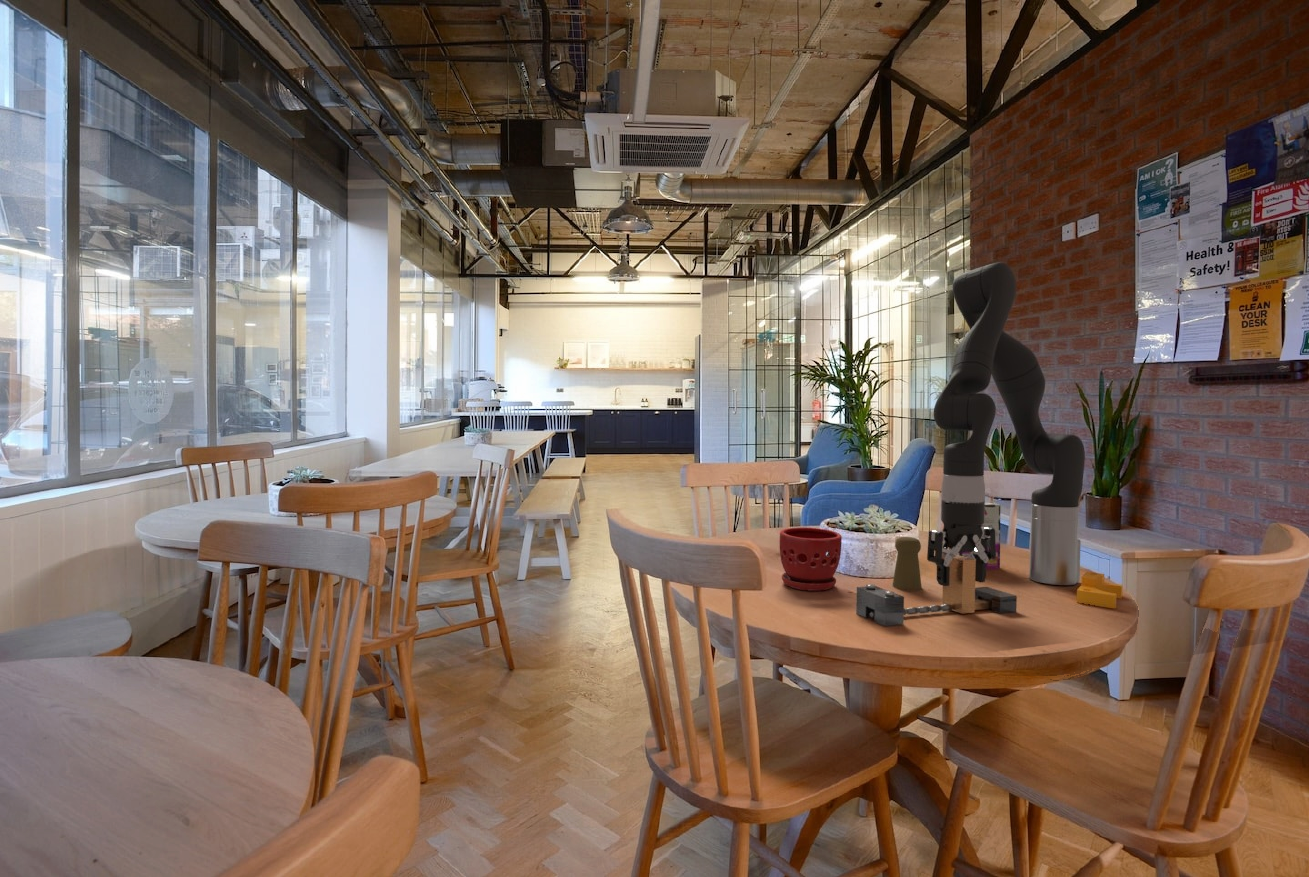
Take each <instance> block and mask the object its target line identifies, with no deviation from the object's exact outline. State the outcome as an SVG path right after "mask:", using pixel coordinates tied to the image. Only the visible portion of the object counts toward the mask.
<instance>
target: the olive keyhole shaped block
mask: <svg viewBox="0 0 1309 877" xmlns="http://www.w3.org/2000/svg"><path fill="white" fill-rule="evenodd" d="M894 547H895V549H896V552H897V555H896V561H895V568H894V574H893V579H892V587H893V588H895V589H897V590H901V591H909V592H917V591H921V590H922V589H923V588H922V587H923V586H922V580H921V579H922V578H921V570H920V562H919V553H920V551H921V548H922V545H921V541H920V540H919V539H918V538H916V537H911V536H901V537H898V538H897V539H896V540H895V544H894Z"/></svg>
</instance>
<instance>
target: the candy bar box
mask: <svg viewBox="0 0 1309 877" xmlns="http://www.w3.org/2000/svg"><path fill="white" fill-rule="evenodd" d="M983 526H984V527H989V528H994V529H995V543H996V557H995V559H990V560H988V562H987V563H986V570H993V569H997V570H998V569H1000V568H1001V504H999V503H998V504H997V503H995V502H994V503H993V502H985V513H984V524H982V525H981V527H983ZM979 541H980V542H981V538H980V540H979ZM948 550H950V549H949V548H948ZM988 552H989V547H988ZM957 555H960V556H964V557H968V558H971V559H974V558H973V556H972V555H971V553H969V552H963V553H958V554H957Z"/></svg>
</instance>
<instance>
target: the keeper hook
mask: <svg viewBox="0 0 1309 877" xmlns="http://www.w3.org/2000/svg"><path fill="white" fill-rule="evenodd" d="M987 598H988V599H991V600H992V608H991V611H992V612H994V613H997V614H1009V613H1010V614H1011V613H1016V612H1017V602H1018V601H1017V600H1018V595H1015V594H1013V593H1009V592H1006V591H1002V590H1000V589H995V588H992V587H988V586H980V587H975V600H977V599H987Z"/></svg>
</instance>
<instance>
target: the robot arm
mask: <svg viewBox="0 0 1309 877" xmlns="http://www.w3.org/2000/svg"><path fill="white" fill-rule="evenodd" d="M1013 271H1014V270H1012V268H1011V267H1010V266H1009V265H1008V264H1007V263H1005V262H998V261H997V262H993V263H990V264H987V265H984V266H980V267H976V268H974V269H971V270H969V271H966V272H963V273H960V274H958V275H956V276H955V278H954V279H953V282H952V294H953V297H954V300H955V303H956V305H957V307H958V310H959V311H960V313H961V315H962V317H963V318H964V320H965V322H966V324H967V326H968V327H969V328H968V329H970V330H969V331H968V332H967V333H966V335H965V336H964V337H963V338H962V340H961V341H960V343H959V345H958V347H957V349H956V352H955V354H954V355H955V356H954V360H953V365H952V369H951V374H950V377H949V378H948V380H947V382H946V383H945V386H944V388H943V389H942V390H941V393H940V394H939V395H938V397H937V400H936V402H935V404H934V408H933V420H934V422H935V424H936V425H937V427H938V428H939V429H941V430H944V431H961V432H962V431H965V432H966V431H968V432H971V431H972V433H971V436H970V437H969V438H968V439H967V440H965V441H960V442H955V443H954V442H953V443H949V444H947V445H946V446H945V447H944V449H943V461H942V462H943V463H942V464H943V466H942V467H943V472H942V473H943V474H942V475H943V476H942V482H941V499H940V500H941V501H940V504H941V508H940V511H941V513H940V519H941V520H940V521H941V522H942V524H943V528H942V531H941V530H935V529H930V530H929V531H928V538H927V539H928V540H927V555H926V560H927V561H928V562H931V563H933V564H935V565H936V582H937V583H938V585H940V586H942V587H943V586H949V576H950V567H949V566H948V565H949V564H950V562H951V560H952V559H953V558H954V557H956V556H957V554H958V553H963V552H969V553H971V555H972V556H973V558H974V559H975V560H976V570H975V582H977V583H984V582H986V579H987V569H986V563H987V562H988V560H990V559H995V557H996V543H995V529H994V528H989V527H984V526H983V527H981V525H982V524H984V513H985V503H986V502H985V501H986V497H985V496H986V486H985V476H984V475H985V451H986V446H987V442H988V438H989V436H990V432H991V428H992V426H993V423H994V420H995V418H996V413H997V410H996V408H997V406H996V403H995V401H994V399H993V398H992V397H991V395H989V394H987V393H982V392H983V391H985V390H986V389H987V388H988V387H989V385H990V382H991V378H992V379H993V381H994V384H995V386H996V388H997V390H998V392H999V394H1000V396H1001V398H1002V400H1003V403H1004V405H1005V408H1006V410H1007V413H1008V415H1009V417H1010V419H1011V420H1010V421H1011V422H1012V425H1013V428H1014V431H1015V434H1016V437H1017V442H1018V444H1019V448H1020V451H1021V454H1022V457H1023V459H1024V462H1025V463H1026V466H1027V467H1028V468H1029V469H1030V470H1031V471H1032V472H1035V473H1036V474H1041V475H1042V474H1043V475H1052V480H1051V483H1050V484H1049V485H1048V486H1045V487H1044V488H1039V489H1035V490H1034V491H1032V494H1031V498H1030V499H1031V500H1030V501H1031V504H1030V505H1031V506H1030V508H1031V509H1030V510H1031V512H1030V537H1029V538H1030V540H1029V541H1030V545H1029V547H1030V548H1029V571H1028V572H1029V574H1028V579H1030V580H1032V581H1033V582H1037V583H1043V584H1047V585H1055V586H1057V585H1058V586H1073V585H1076V584H1077V583H1080V578H1081V577H1080V574H1081V572H1080V571H1081V541H1082V540H1080V539H1079V538H1078V536H1079V509H1080V508H1079V507H1080V506H1079V504H1080V498H1081V495H1082V492H1083V487H1084V486H1083V485H1084V473H1085V471H1084V470H1085V463H1086V462H1085V461H1086V451H1085V446H1084V443H1083V441H1082V439H1081V438H1080V437H1079V436H1078V435H1075V434H1069V433H1068V434H1067V433H1048V432H1046V431H1045V428H1044V427H1043V424H1042V421H1041V419H1040V415H1039V414H1040V413H1039V411H1040V406H1041V402H1042V400H1043V397H1044V394H1045V388H1046V379H1045V376H1044V373H1043V370H1042V368H1041V366H1040V363H1039V361H1038V358H1037V356H1036V355H1035V353H1034V352H1033V351H1032V350H1031V349H1030V348H1029V347H1028V346H1026V345H1025V344H1023V343H1022V342H1021V341H1019V340H1017V339H1016V338H1015V337H1013V336H1012V335H1010V334H1008V333H1007V332H1005V331H1004V328H1005V325H1006V324H1007V321H1008V318H1009V315H1010V312H1011V310H1012V308H1013V305H1014V302H1015V298H1016V293H1017V279H1016V277H1015V274H1014V272H1013ZM980 538H981V542H980V541H979V540H980ZM988 547H989V552H988ZM949 549H950V550H949ZM945 556H946V557H945ZM944 557H945V558H944Z"/></svg>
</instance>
